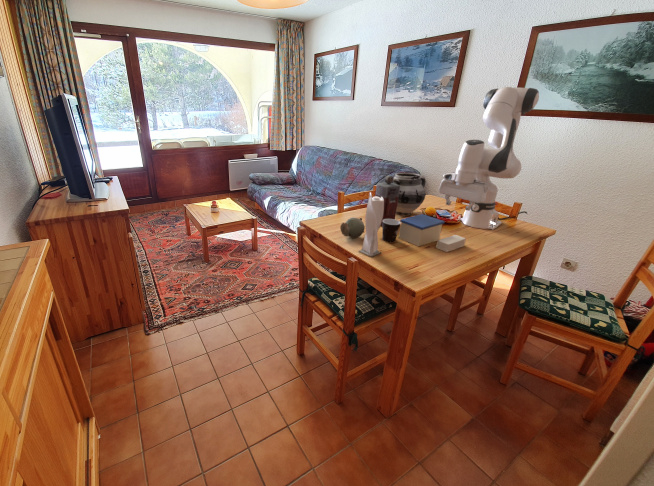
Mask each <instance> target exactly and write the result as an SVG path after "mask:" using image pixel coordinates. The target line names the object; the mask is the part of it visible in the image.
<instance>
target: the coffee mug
mask: <svg viewBox="0 0 654 486" xmlns="http://www.w3.org/2000/svg"><path fill="white" fill-rule="evenodd" d="M381 228H382V230H381V231H382V232H381V234H382V235H381V239H382V241H383V242H385V243H395V242H396V240H397V236H398V234H399V231H400V228H401V222H400V220H399V219H396V218H395V219H384V220H383V225H382V227H381Z"/></svg>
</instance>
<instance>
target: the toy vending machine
mask: <svg viewBox="0 0 654 486" xmlns="http://www.w3.org/2000/svg"><path fill="white" fill-rule="evenodd" d="M393 178H394V176H392V175H390V174H389V175H386V176H385V177H384V182H377V184H376V188H375V195H374V196H377V197H380V198H381V197H383V199H384V211H383V218H382V222H381V225H380V228H382V225H383V220H384V219H395V220H396V216H397V214H396V210H397V203H398V197H399V190H400V185H397V184H394V183H392V182H393ZM383 199H382V200H383Z"/></svg>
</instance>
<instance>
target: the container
mask: <svg viewBox="0 0 654 486" xmlns="http://www.w3.org/2000/svg"><path fill="white" fill-rule="evenodd" d="M399 221H400V222H401V224H400V227H399V233H398V234H399V235H398V238H399V240H403V241H405V242H407V243H410V244H412V245H414V246H417V247H421V246H424V245H427V244H431V243H434V242H436V241H437V242H438V240H440V239H441V238H440V237H441V234H442V233H441V232H442V228H443V225H444V224H445V220H441V219H439V218H436V217H432V216H429V215H426V214H423V213H421V214H417V215H412V216H408V217H404V218H400V220H399Z"/></svg>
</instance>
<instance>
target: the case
mask: <svg viewBox="0 0 654 486" xmlns="http://www.w3.org/2000/svg"><path fill="white" fill-rule="evenodd" d="M466 239H467V238H466V237H463V236H460V235H457V234H453V235H450V236H447V237H444V238H440V239H439V240H437V242H436V246H435V248H436V249H438V250H441V251H443V252H445V253H448V252H451V251H454V250H457V249H459V248H462V247H465V244H466V241H467V240H466Z"/></svg>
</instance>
